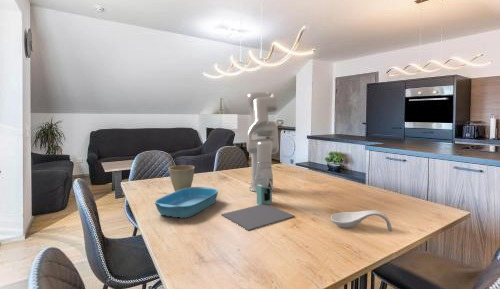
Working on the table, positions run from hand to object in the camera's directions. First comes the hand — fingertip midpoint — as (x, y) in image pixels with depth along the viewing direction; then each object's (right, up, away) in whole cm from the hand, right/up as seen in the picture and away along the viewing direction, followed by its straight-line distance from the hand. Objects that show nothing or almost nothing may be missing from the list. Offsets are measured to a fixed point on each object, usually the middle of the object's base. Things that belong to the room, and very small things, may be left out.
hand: (264, 198), depth 151 cm
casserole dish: (-39, -4, -6) cm, 39 cm away
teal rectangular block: (0, -2, 0) cm, 2 cm away
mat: (-4, -5, -18) cm, 19 cm away
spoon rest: (+38, -6, -31) cm, 50 cm away
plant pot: (-48, -1, +19) cm, 51 cm away
